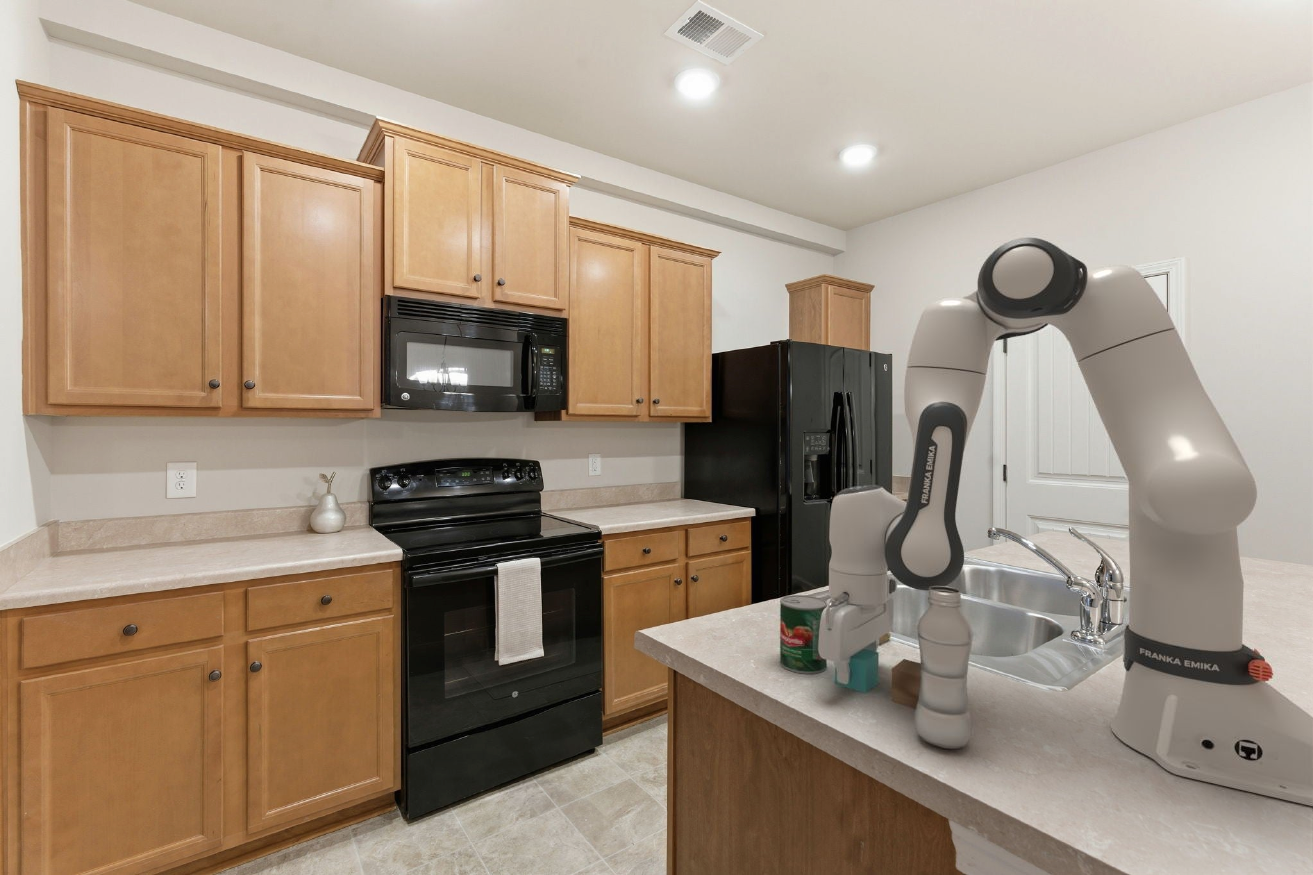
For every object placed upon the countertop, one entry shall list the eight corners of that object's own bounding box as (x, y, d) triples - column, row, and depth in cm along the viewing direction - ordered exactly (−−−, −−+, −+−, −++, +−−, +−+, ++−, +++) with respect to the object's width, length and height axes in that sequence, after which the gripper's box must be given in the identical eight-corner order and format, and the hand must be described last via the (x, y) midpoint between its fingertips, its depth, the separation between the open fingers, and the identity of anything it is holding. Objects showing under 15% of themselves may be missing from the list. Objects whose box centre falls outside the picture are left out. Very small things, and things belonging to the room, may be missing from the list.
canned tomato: (830, 660, 107) (831, 598, 106) (822, 677, 100) (823, 610, 99) (785, 653, 110) (785, 592, 110) (774, 669, 103) (775, 604, 103)
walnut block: (937, 700, 91) (937, 667, 91) (926, 712, 88) (926, 677, 88) (903, 690, 95) (903, 658, 95) (891, 701, 91) (891, 668, 91)
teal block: (878, 683, 98) (878, 652, 97) (865, 693, 94) (865, 661, 94) (848, 674, 101) (848, 644, 101) (834, 684, 97) (835, 653, 97)
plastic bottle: (922, 724, 84) (924, 580, 83) (976, 741, 80) (979, 588, 79) (907, 743, 79) (909, 590, 78) (964, 762, 75) (967, 599, 74)
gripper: (848, 605, 87) (847, 700, 87) (901, 578, 102) (900, 660, 103) (808, 596, 91) (807, 688, 92) (864, 572, 107) (863, 650, 107)
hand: (856, 673), depth 97 cm, fingers open, 8 cm apart
